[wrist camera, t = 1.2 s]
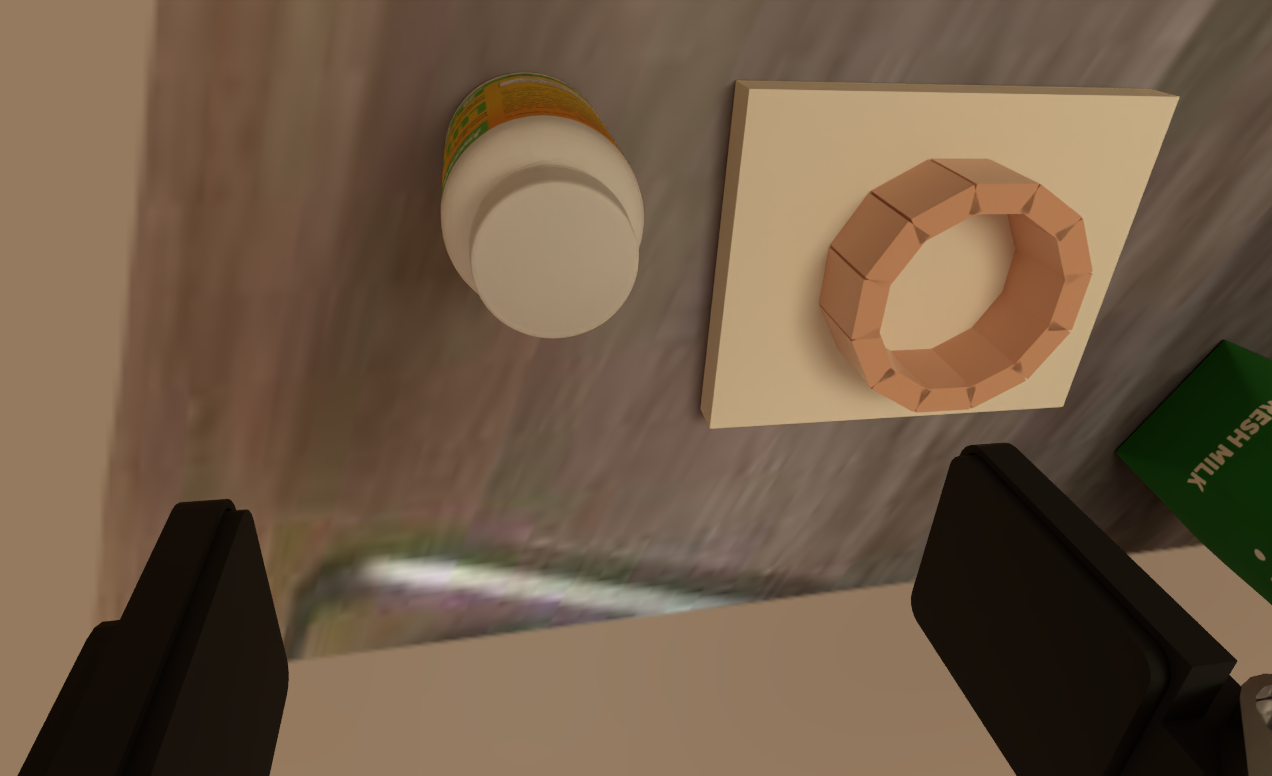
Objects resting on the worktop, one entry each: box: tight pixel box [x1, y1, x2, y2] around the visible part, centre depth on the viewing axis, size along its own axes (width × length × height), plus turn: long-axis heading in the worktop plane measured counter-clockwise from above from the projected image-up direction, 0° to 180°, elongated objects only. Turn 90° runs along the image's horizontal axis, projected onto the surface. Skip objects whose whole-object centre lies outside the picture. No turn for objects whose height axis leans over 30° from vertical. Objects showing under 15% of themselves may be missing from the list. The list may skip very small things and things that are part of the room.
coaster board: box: [700, 80, 1179, 429], centre depth 31 cm, size 13×16×2 cm
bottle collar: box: [819, 159, 1093, 413], centre depth 29 cm, size 9×9×3 cm
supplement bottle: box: [441, 72, 644, 338], centre depth 23 cm, size 5×5×10 cm
